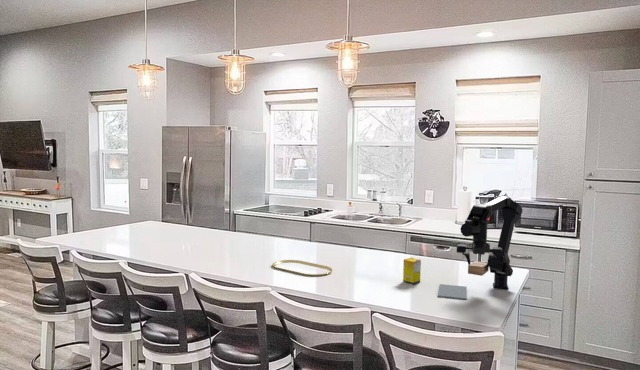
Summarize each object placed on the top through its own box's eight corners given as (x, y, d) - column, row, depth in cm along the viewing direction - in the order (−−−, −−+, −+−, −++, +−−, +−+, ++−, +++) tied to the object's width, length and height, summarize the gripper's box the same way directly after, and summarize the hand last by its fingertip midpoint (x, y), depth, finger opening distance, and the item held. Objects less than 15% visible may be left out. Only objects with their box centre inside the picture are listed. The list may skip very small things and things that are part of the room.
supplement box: (410, 279, 229) (411, 257, 228) (420, 282, 224) (421, 259, 223) (402, 281, 225) (403, 259, 224) (412, 284, 220) (413, 261, 219)
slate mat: (439, 285, 220) (439, 284, 220) (466, 287, 216) (466, 286, 216) (437, 296, 202) (437, 295, 202) (466, 299, 199) (466, 298, 199)
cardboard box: (474, 268, 212) (475, 260, 212) (488, 270, 209) (488, 262, 208) (467, 273, 204) (468, 265, 204) (482, 275, 201) (482, 267, 200)
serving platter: (316, 279, 228) (316, 276, 228) (265, 267, 249) (265, 264, 249) (339, 271, 242) (339, 268, 242) (288, 260, 264) (288, 258, 264)
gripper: (456, 235, 201) (454, 271, 202) (503, 239, 194) (501, 276, 196) (458, 231, 211) (456, 265, 212) (502, 234, 205) (501, 269, 206)
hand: (478, 269), depth 206 cm, fingers closed on cardboard box, 7 cm apart
